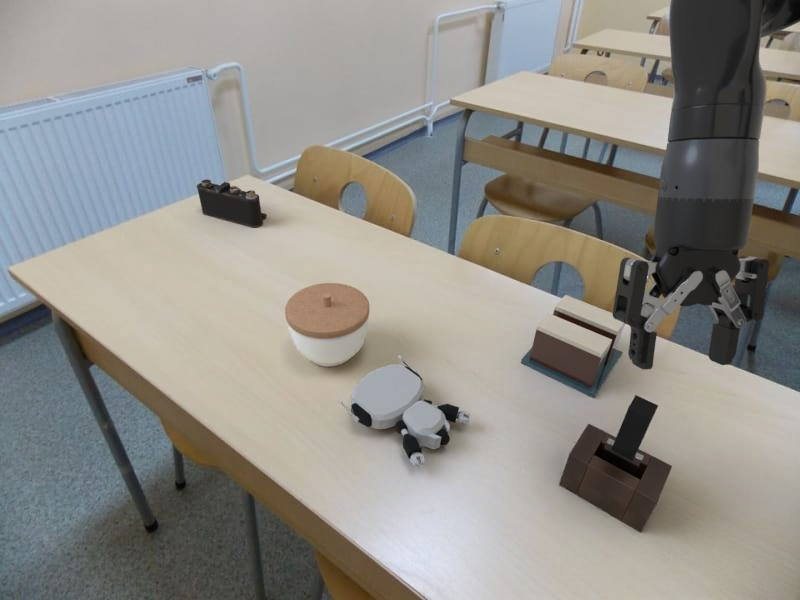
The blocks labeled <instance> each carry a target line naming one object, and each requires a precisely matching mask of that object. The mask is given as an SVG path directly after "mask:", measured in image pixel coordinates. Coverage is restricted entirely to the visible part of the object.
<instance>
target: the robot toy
mask: <svg viewBox="0 0 800 600" xmlns="http://www.w3.org/2000/svg"><path fill="white" fill-rule="evenodd" d="M397 358H398V359H399V360H400V361H401V362H402V363H403V364H404V365H403V364H397V363H394V364H393V363H392V364H388V365H383V366H381V367H378V368H376V369H374V370H371V371H370V372H368V373H367V374H365V375H364V376H363V377H362V378H361V379H360V380H359V381H358V382H357V383H356V385H355V386H354V387H353V389H352V390H351V394H350V404H349V405H350V409H349V408H348V406H347V405H346V404H345V403H344V402H343V400H342V399H341V398H339V397H337V398H336V399H337V402H338V403H339V404H340V405H341V406H342V407H343V408H344V409H345V410H346V411H347V412H348V413H349V415H350V416H351V417H352V418H353V420H354V421H355V423H359V424H361V425H363V426H365V427H366V428H372V429H375V430H385V429H390V428H392V427H395V429H396V431H397V433H398V434H401V435H402V437H403V438H402V447H403V451H404V452H405V454H406V456H407V458H408V460H410V463H411V464H412V465H413V466H414V467H420V466H423V465H424V464H425V463H426V457H425V456H424V455H423V454H422V447H426V448H429V449H432V450H437V449H439V448H440V447H444V446H447V445H448V444H449V442H450V439H451V437H450V434H449V432H450V428H451V427H450V426H451V424H450V423H449V422H451V423H454V424H455V423H456V421H459V422H460V423H461V424H467V423H469V422H470V417H471V415H470V413H469V412H468V411H466V410H460V407H459V406H456V405H452V404H450V403H444V404H440V405H436V404H433V401H432V400H429V399H426V398H424V399H423V396H424V391H425V384H424V382H423V378H422V376H421V375H420V373H419V372H418V371H417V370H415V369H414V368H412V366H411V365H409V363H408V362H407V361H405V359H404V358H403V357H402V356H401V355H400V354H397Z"/></svg>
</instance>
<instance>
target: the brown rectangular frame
mask: <svg viewBox="0 0 800 600" xmlns="http://www.w3.org/2000/svg"><path fill="white" fill-rule="evenodd" d="M616 437H617V436H614V435H612V434H611V433H609V432H606V431H605V430H603V429H601V428H599V427H597V426H594V425H593V424H591V423H588V424H587V425H586V427H585V428H584V430H583V431H582V433H581V434H580V436H579V438H578V439H577V441H576V442H575V444H574V445H573V446H572V449H571V451H570V452H569V454H568V457H567V459H566V463H565V465H564V468H563V471H562V475H561V477H560V480H559V483H558V485H559V487H562V488H564V489H566V490H568V491H569V492H570V493H573V494H574V495H576V496H577V497H579V498H581V499H582V500H585V501H586V502H588V503H590V504H591V505H593V506H594V507H596V508H598V509H600V510H601V511H603V512H605V513H606V514H608V515H610V516H612V517H613V518H615V519H616V520H619V521H621V522H622V523H624V524H625V525H627V526H628V527H630V528H632V529H633V530H635V531H637V532H638V533H642V532H643V530H644V528H645V526H646V524H647V522H648V520H649V519H650V517H651V515H652V513H653V512H654V509H655V508H656V506H657V504H658V502H659V500H660V498H661V495H662V492H663V490H664V487H665V485H666V483H667V480H668V478H669V476H670V473H671V471H672V469H673V465H671V464H670V463H667V462H666V461H664V460H661V459H659V458H658V457H656V456H653V455H651V454H650V453H648V452H646V451H644V450H642V449H640V448H639V449H638V451H637V453H639V454H641V455H643V456H644V457H643V459H642V461H641V464H640V466H639V468H638V470H637V472H636V474H635V476H632V475H631V474H629V473H627V472H625V471H623V470H621V469H619V468H618V467H616V466H614V465H612V464H610V463H608V462H606V461H604V460H603V459H601V455H602V453H603V450H604V448H605V445H606V442H607V441H608V439H609V438H610V439H612V440H614V441H615V439H616Z"/></svg>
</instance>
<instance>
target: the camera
mask: <svg viewBox="0 0 800 600" xmlns="http://www.w3.org/2000/svg"><path fill="white" fill-rule="evenodd" d="M196 189H197V193H198V198H199V202H200V206H201V212H202V214H203V215H205V216H208V217H213V218H216V219H219V220H223V221H227V222H231V223H235V224H238V225H241V226H246V227H250V228H252V229H253V228H254V229H255V228H260V227H263V225H264V220H266V218H267V216H268V215H267V213H265V212H264V213H263V212H262V208H261V201H260V195H259V194H258V193H256V191H255V190H247V191H246V190H245V191H244V190H242V189H241V188H240V187H239V186H236V185H231V183H230V182H227V181H224V182H222V183H221V184H216V183H212V181H211V180H210V179H203V180H201V182H200V183H198V184H196Z"/></svg>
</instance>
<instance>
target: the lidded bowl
mask: <svg viewBox="0 0 800 600" xmlns="http://www.w3.org/2000/svg"><path fill="white" fill-rule="evenodd" d="M369 301H370V300H369V299H368V297H367V296H366V295H365V294H364V293H363V292H362V291H361V290H360V289H357V288H356V287H353V286H351V285H349V284H344V283H338V282H322V283H316V284H312V285H309V286H307V287H304V288H302V289H300V290H298V291H297V292H294V294H293V295H292V296H291V297H290V298H289V299H288V300H287V302H286V304H285V307H284V317H285V320H286V324H287V328H288V332H289V337H290V339H291V342H292V343H293V346H294V347H295V348H296V350H297V352H298V353H300V355H301V356H303V357H304V358H305V359H306V360H309V361H310V362H313V363H314V364H316V365H318V366H320V367H327V368H329V367H337V366H341V365H342V364H343V365H344V364H345V363H346V362H348V361H349V360H350V359H351V358H352V357H354V356H355V355H357V353H358V352H359V351H360V350H361V348H362V347H363V345H364V343H365V341H366V339H367V335H368V331H369V321H370V320H369V319H370V310H371V309H370V308H371V307H370V302H369Z"/></svg>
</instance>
